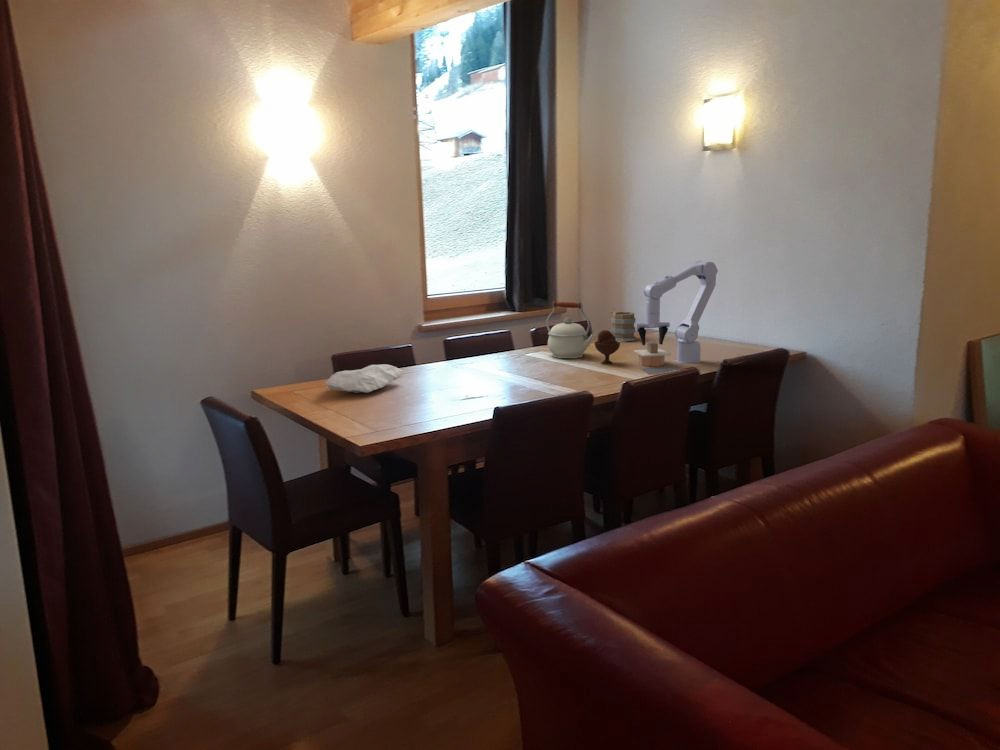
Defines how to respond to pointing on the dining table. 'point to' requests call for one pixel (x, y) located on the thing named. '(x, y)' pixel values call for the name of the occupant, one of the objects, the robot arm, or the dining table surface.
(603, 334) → the ice cream bowl
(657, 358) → the bowl
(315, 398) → the dining table surface
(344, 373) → the crumpled cloth
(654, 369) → the mat
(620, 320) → the tankard
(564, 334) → the kettle
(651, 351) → the lid
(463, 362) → the dining table surface
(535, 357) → the dining table surface
